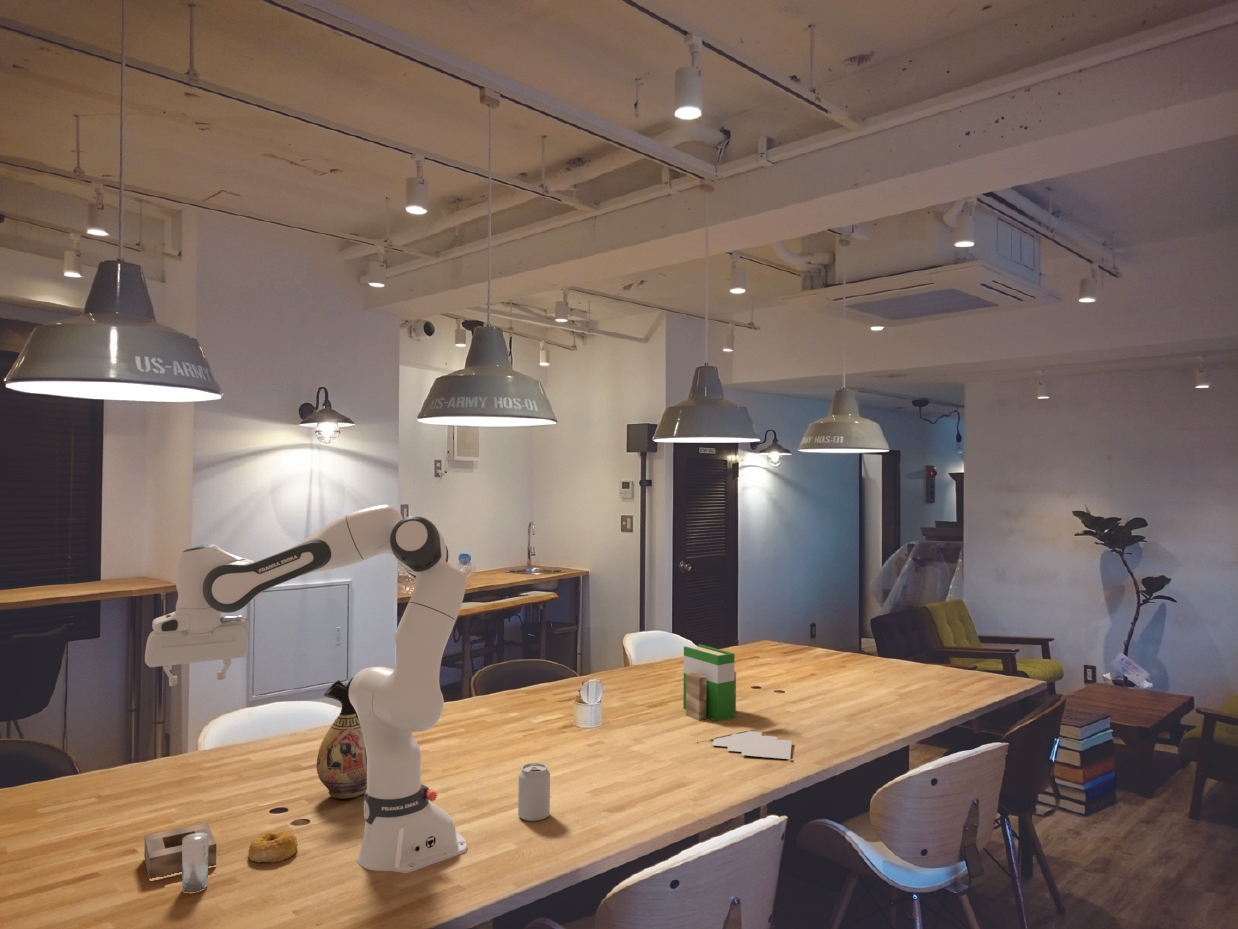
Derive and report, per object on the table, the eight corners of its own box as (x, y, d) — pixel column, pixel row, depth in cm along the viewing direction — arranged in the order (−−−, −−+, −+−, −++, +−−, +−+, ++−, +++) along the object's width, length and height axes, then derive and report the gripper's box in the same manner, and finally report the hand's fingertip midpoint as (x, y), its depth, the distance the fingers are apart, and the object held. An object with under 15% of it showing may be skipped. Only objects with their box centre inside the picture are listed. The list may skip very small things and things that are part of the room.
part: (205, 881, 167) (206, 830, 167) (209, 891, 163) (209, 839, 163) (180, 887, 164) (181, 836, 164) (183, 897, 160) (183, 845, 161)
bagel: (304, 843, 185) (304, 821, 185) (289, 867, 174) (290, 844, 175) (257, 844, 184) (257, 823, 184) (239, 868, 174) (240, 845, 174)
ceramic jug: (313, 807, 204) (315, 683, 204) (318, 784, 219) (320, 668, 219) (386, 800, 209) (387, 679, 209) (386, 778, 224) (387, 665, 224)
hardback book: (683, 716, 292) (683, 646, 292) (699, 712, 296) (700, 644, 296) (717, 729, 278) (717, 656, 278) (734, 725, 282) (734, 653, 282)
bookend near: (692, 713, 286) (693, 672, 286) (706, 719, 280) (706, 676, 280) (685, 715, 284) (686, 673, 284) (699, 720, 278) (699, 678, 278)
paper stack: (708, 754, 246) (708, 752, 246) (718, 728, 271) (718, 726, 271) (790, 761, 241) (790, 759, 241) (792, 734, 265) (792, 732, 265)
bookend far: (722, 708, 293) (722, 667, 293) (735, 713, 287) (736, 671, 287) (715, 709, 291) (716, 668, 291) (729, 714, 285) (729, 673, 285)
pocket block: (207, 846, 183) (207, 823, 183) (216, 868, 173) (216, 843, 173) (144, 859, 176) (144, 835, 176) (149, 883, 166) (149, 858, 166)
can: (520, 825, 195) (521, 773, 195) (515, 812, 203) (516, 762, 203) (552, 822, 197) (553, 770, 197) (546, 809, 205) (547, 760, 205)
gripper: (246, 612, 193) (246, 673, 193) (144, 620, 182) (143, 685, 182) (252, 617, 188) (251, 679, 188) (147, 625, 176) (146, 691, 176)
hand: (197, 682), depth 185 cm, fingers open, 8 cm apart
